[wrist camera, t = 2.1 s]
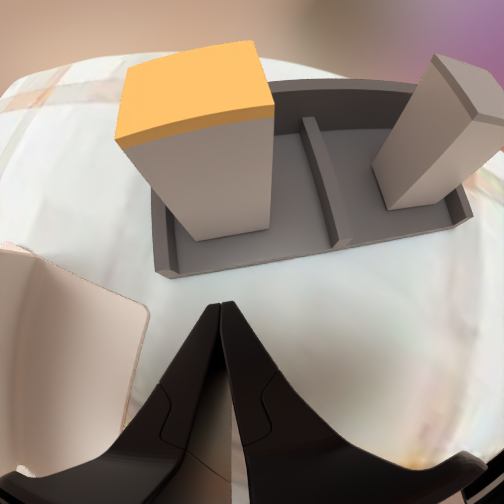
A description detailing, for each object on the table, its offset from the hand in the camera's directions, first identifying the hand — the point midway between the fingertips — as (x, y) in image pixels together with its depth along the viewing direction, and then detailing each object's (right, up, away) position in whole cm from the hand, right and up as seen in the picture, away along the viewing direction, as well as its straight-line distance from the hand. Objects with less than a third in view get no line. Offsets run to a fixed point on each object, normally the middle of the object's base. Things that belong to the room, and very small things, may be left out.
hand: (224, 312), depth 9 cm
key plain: (+13, +7, +10) cm, 18 cm away
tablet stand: (-18, -12, +9) cm, 23 cm away
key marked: (-1, +5, +10) cm, 11 cm away
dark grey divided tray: (+6, +7, +12) cm, 15 cm away
